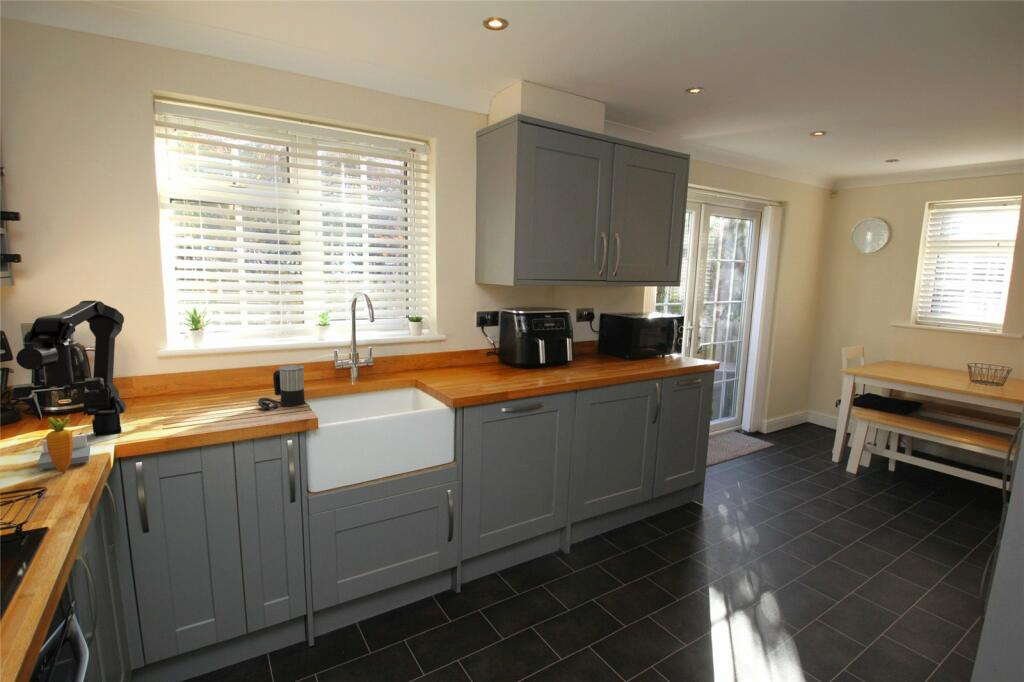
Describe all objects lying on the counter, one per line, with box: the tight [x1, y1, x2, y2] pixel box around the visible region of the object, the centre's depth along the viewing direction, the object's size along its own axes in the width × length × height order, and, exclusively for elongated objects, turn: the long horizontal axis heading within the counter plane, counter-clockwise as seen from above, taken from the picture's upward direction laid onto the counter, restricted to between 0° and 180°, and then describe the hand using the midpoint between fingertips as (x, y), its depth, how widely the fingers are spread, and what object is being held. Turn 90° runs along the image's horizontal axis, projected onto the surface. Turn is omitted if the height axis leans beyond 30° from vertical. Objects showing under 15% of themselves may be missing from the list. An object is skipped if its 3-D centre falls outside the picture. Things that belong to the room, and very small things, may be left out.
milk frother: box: [257, 364, 306, 410], centre depth 194 cm, size 14×16×15 cm
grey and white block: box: [37, 433, 91, 471], centre depth 135 cm, size 10×10×6 cm
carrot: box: [45, 417, 73, 474], centre depth 127 cm, size 5×5×15 cm
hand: (63, 417), depth 139 cm, fingers open, 9 cm apart
